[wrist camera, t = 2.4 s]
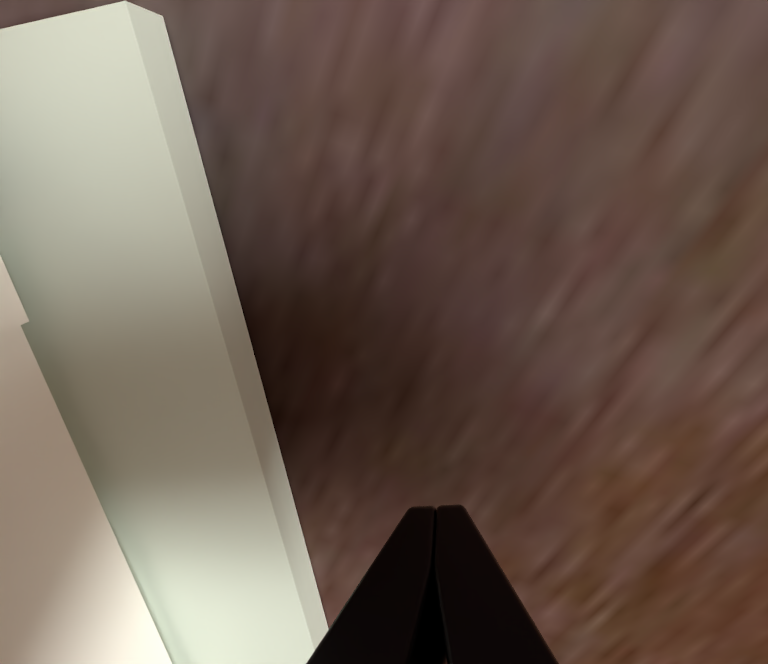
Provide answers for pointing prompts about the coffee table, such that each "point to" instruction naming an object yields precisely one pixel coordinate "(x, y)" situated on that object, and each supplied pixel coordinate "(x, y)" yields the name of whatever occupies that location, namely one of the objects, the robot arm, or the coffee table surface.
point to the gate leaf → (56, 531)
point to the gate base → (149, 335)
